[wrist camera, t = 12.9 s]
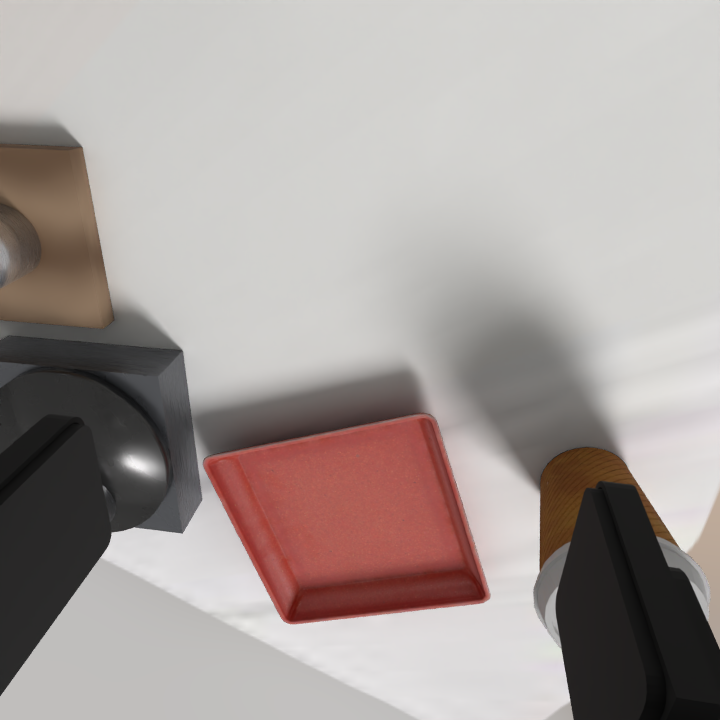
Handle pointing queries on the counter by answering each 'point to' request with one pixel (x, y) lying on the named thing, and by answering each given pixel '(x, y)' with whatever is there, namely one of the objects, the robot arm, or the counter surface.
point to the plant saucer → (353, 521)
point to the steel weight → (17, 246)
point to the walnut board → (55, 238)
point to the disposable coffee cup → (559, 517)
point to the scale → (112, 419)
